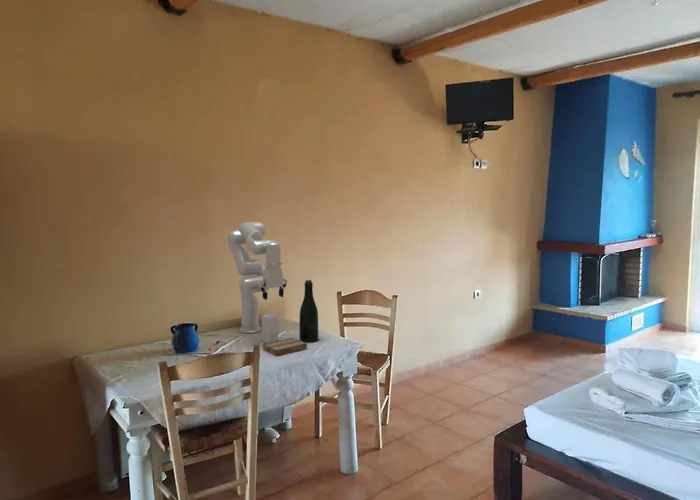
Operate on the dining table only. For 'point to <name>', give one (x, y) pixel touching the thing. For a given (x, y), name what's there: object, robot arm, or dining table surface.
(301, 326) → the green wine bottle
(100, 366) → the dining table surface
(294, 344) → the walnut base
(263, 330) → the skincare box
